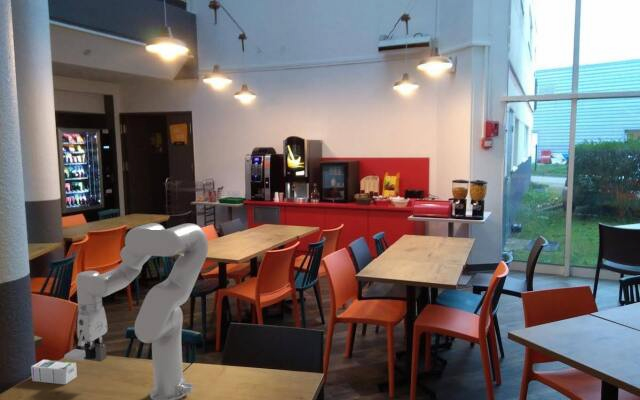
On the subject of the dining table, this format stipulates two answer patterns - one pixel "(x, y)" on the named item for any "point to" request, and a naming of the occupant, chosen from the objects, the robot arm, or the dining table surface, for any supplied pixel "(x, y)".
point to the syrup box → (54, 371)
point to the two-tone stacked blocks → (80, 355)
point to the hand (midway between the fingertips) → (93, 355)
